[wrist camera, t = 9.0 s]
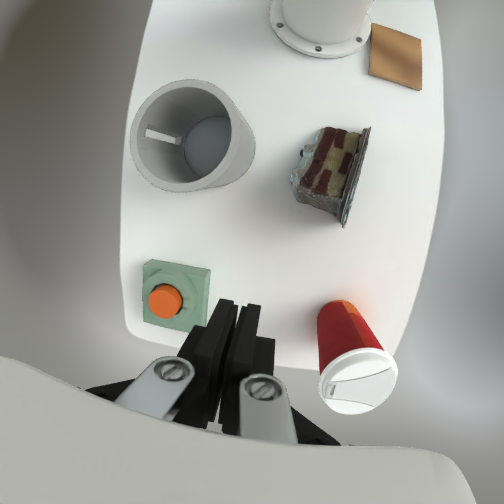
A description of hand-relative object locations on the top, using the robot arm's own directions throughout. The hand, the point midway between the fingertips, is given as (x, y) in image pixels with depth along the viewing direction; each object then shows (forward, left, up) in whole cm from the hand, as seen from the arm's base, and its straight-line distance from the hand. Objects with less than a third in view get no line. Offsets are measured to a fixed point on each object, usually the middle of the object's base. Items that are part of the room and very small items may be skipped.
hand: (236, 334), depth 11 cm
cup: (-9, -7, -23) cm, 26 cm away
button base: (+10, -10, -23) cm, 27 cm away
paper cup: (+10, +11, -23) cm, 28 cm away
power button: (+9, -10, -19) cm, 23 cm away
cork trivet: (-25, +13, -23) cm, 36 cm away
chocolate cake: (-8, +6, -23) cm, 25 cm away
